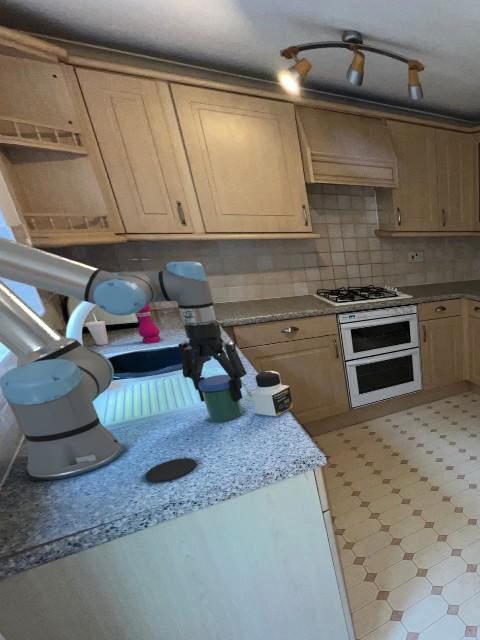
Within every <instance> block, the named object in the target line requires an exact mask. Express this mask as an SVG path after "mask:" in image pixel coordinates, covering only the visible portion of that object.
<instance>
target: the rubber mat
mask: <svg viewBox="0 0 480 640" xmlns="http://www.w3.org/2000/svg"><path fill="white" fill-rule="evenodd" d="M196 467H197V462H196V460H194V459H193V458H188V457H187V458H185V457H184V458H176V459H175V458H174V459H171V460H167V461H164V462H162V463H158V464H157V465H155V466H153V467H151V468H150V469H149V470H148V471H147V472H146V473H145V476H144V477H145V480H146V481H147V482H150V483H155V484H157V483H158V484H159V483H166V482H170V481H173V480H177V479H179V478H182V477H184V476H186V475H188V474H190V473H191V472H192V471H194V470H195V469H196Z"/></svg>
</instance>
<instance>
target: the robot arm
mask: <svg viewBox="0 0 480 640" xmlns="http://www.w3.org/2000/svg"><path fill="white" fill-rule="evenodd" d="M0 278H2V279H5V280H8V281H13V282H16V283H19V284H23V285H27V286H30V287H32V288H33V287H34V288H36V289H40V290H43V291H47V292H51V293H54V294H57V295H61V296H65V297H68V298H71V299H75V300H79V301H82V302H86V303H89V304H92V305H96V306H97V307H98V308H100V309H101V310H102V311H104V312H105V313H108V314H110V315H113V316H121V317H122V316H124V317H125V316H129V315H132V314H136V312H139V311H140V310H142V309H143V308H144V307H145V306H146V305H148V304H149V305H150V304H152V303H165V302H166V303H167V302H176V303H177V307H178V309H179V313H180V317H181V321H182V323H183V324H184V325H183V328H184V332H185V335H186V338H187V339H188V340H186V341H183V342H180V343H178V344H177V346H178V348H179V351H180V355H181V356H180V357H181V366H182V376H183V377H184V379H185V378H189V379H191V381H192V383H193V386H194V389H195V390H196V391H197V392H198V395H199V399H200V402H203V403H205V401H204V397H203V394H202V391H201V390H200V388H199V384H198V382H199V381H200V380H202V379H205V378H206V377H205V376H203V368H204V363H205V359H206V357H212V358H213V360H216V361H217V362H218V363H219V364H220V366H221V367H222V369H223V370H224V372H225V373H226V375H229V376H230V378H231V379H230V380H229V384H230V388H231V391H232V395H233V399H234V402H237V401H239V400H240V401H241V400H242V399H243V393H242V391H241V390H242V389H243V384H242V379H241V378H243V377H245V376H246V375H247V374H248V373H247V371H246V368H245V366H244V365H243V362H242V360H241V358H240V356H239V353H238V352H237V346H236V342H234V341H230V342H227V341H224V339H222V331H221V327H220V323H219V321H217V320H218V316H217V315H218V314H217V311H216V307H215V305H214V304H215V303H214V299H213V296H212V292H211V288H210V284H209V279H208V277H207V275H206V271H205V268H204V265H203V264H202V263H200V262H198V261H170V262H168V263H167V264H166V269H165V270H159V271H157V270H155V271H154V270H153V271H126V270H124V271H118V272H117V271H116V272H111V271H110V272H109V271H107V270H102V269H100V268H97V267H95V266H92V265H89V264H85V263H83V262H80V261H75V260H72V259H70V258H66V257H63V256H61V255H58V254H55V253H51V252H48V251H45V250H42V249H39V248H36V247H33V246H30V245H26V244H24V243H22V242H21V243H20V242H17V241H15V240H11V239H9V238H5V237H2V236H0ZM0 344H2V345H3V346H4V347H5V348H7V349H8V350H9V351H10V352H12V353H13V354H14V355H15V356H16V357H17V362H16V366H15V367H14V368H12V369H9V370H8V371H6V372H4V374H2V376H1V377H0V388H1V394H2V396H3V398H4V399H5V400H6V402H7V404H8V406H9V408H10V410H11V412H12V414H13V416H14V418H15V419H16V421H17V424H18V425H19V428H20V429H21V432H22V433H23V436H24V438H25V440H26V441H27V462H26V469H27V473H28V475H29V476H30V478H31V479H33V480H37V481H55V480H62V479H68V478H72V477H75V476H80V475H82V474H86V473H88V472H92V471H94V470H97V469H100V468H101V467H104V466H105V465H108V464H110V463H112V462H113V461H115V460H116V459H117V458H119V457H120V456H121V455H122V453H123V446H122V444H121V443H120V441H119V440H118V438H116V437H115V436H114V435H113V433H111V432H110V431H109V429H107V428H106V427H105V426H104V425H103V424H102V422H101V420H100V418H99V415H98V413H97V409H96V408H95V405H94V403H93V402H94V401H95V400H96V399H97V398H98V397H99V396H101V394H103V393H104V392H106V390H107V389H108V388H109V387H110V385H111V383H112V382H113V380H114V377H115V370H114V367H113V364H112V362H111V361H110V360H109V358H107V356H106V355H104V354H102V353H101V352H99V351H98V350H95V349H90V348H87V347H85V346H84V345H83V344H82V343H81V342H80V341H78V340H77V339H76V338H74V337H73V338H72V337H66V336H62V335H61V334H60V333H59V332H58V331H57V330H56V329H55V328H54V327H52V326H51V324H49V323H48V322H47V321H46V320H45V319H44V318H42V317H41V316H40V315H39V314H38V313H37V312H36V311H35V310H34V309H33V308H32V307H31V306H30V305H29V304H27V303H26V301H24V300H23V299H22V298H21V297H20V296H19V295H18V294H16V292H14V291H13V290H12V289H11V288H10V287H9V286H8V285H7V284H6V283H4V281H2V280H1V279H0ZM193 350H194V353H193ZM193 358H194V359H193Z"/></svg>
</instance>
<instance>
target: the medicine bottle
mask: <svg viewBox="0 0 480 640" xmlns="http://www.w3.org/2000/svg"><path fill="white" fill-rule="evenodd" d="M254 378H255V382H256V387H257V389H254V390H253V391H251V392H250V393H251V398H252V402H253V406H254V410H255V414H256V415H261V416H270V417H278V416H280V415H282V414H284V413H285V412H287V411H288V410H290V409H292V408H293V407H294V404H293V399H292V394H291V390H290V386H289V385H285V384H282V381H281V375H280V373H279V372H278V371H274V370H265V371H262V372H259V373H258V374H256V376H255V377H254Z"/></svg>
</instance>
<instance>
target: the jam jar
mask: <svg viewBox="0 0 480 640" xmlns="http://www.w3.org/2000/svg"><path fill="white" fill-rule="evenodd" d="M202 394H203V397H204V404H205V407H206V410H207V414H208V415H207V416H208V418H209V420H210V422H215V423H223V422H229V421H233V420H235V419H237V418H239V417H241V416H242V415H243V413H244V412H243V409H242V408H243V407H242V404H241V399H240V400H239V401H237V402H234V399H233V395H232V391H231V388H227V389H224V390H219V391H211V392H207V391H202Z"/></svg>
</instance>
